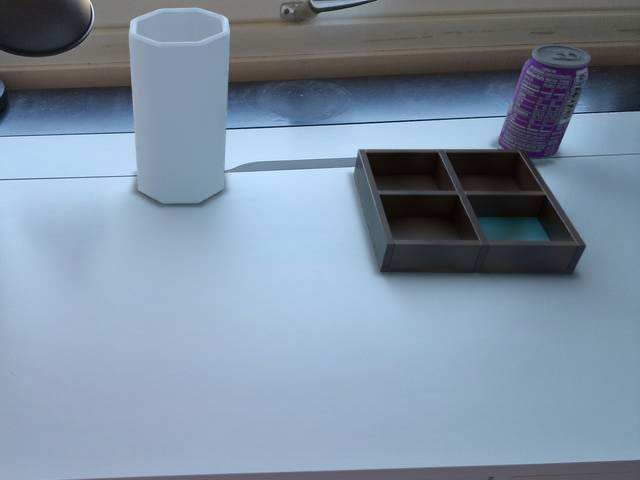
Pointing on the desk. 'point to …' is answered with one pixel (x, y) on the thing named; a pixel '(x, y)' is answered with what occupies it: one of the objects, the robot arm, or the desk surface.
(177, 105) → the cup
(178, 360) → the desk surface
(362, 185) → the grid
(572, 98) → the beverage can
